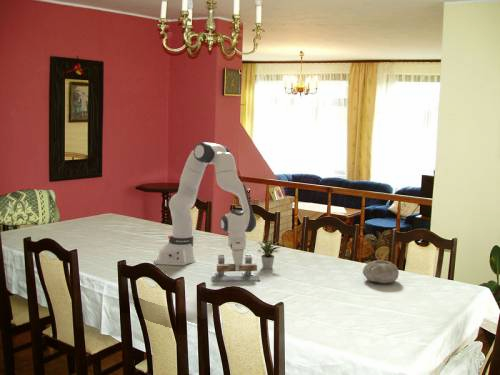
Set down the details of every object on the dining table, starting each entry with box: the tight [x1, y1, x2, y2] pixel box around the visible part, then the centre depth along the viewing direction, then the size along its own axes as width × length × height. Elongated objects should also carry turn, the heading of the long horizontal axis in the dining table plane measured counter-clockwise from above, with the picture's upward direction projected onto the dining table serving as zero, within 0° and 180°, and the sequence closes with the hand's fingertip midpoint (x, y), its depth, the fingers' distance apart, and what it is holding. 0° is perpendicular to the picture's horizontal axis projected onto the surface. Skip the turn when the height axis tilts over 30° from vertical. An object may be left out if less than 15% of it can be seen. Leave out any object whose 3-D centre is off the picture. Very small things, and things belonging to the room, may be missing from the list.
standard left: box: [215, 253, 227, 276], centre depth 308 cm, size 5×6×10 cm
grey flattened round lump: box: [362, 259, 400, 284], centre depth 303 cm, size 18×18×10 cm
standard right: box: [242, 253, 255, 276], centre depth 310 cm, size 5×6×10 cm
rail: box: [216, 263, 258, 273], centre depth 301 cm, size 20×3×3 cm, turn 96°
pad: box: [211, 275, 261, 283], centre depth 302 cm, size 24×7×1 cm, turn 96°
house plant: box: [257, 237, 282, 270], centre depth 322 cm, size 14×14×16 cm
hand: (236, 269), depth 301 cm, fingers closed on rail, 3 cm apart
